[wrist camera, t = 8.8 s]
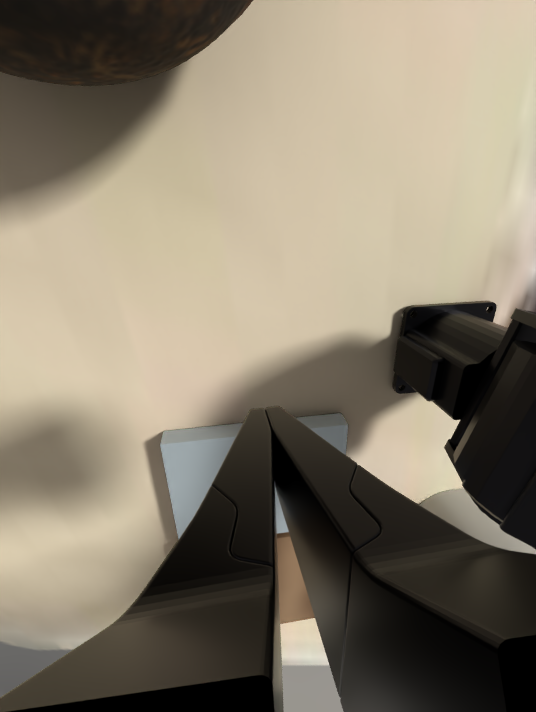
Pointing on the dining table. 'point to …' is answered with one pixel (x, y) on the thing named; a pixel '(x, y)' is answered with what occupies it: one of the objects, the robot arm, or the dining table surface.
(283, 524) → the floor tile
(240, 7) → the brown flower vase
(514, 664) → the robot arm
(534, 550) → the lumpy-topped squat cylinder
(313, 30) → the dining table surface
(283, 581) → the walnut floor board
